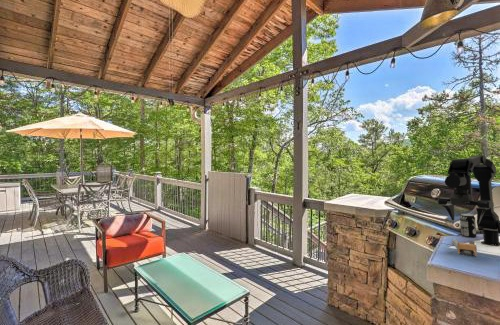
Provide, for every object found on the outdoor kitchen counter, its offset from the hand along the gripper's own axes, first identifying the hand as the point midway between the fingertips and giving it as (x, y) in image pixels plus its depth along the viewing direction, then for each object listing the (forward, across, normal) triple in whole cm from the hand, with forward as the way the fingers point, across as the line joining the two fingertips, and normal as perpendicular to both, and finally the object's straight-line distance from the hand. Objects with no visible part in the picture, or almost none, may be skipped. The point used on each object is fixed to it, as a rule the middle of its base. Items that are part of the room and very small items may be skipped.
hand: (465, 222), depth 117 cm
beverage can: (+15, -12, +36) cm, 41 cm away
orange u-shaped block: (+15, 0, +1) cm, 15 cm away
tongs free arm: (+14, -7, +9) cm, 18 cm away
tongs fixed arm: (+15, -3, +9) cm, 17 cm away
